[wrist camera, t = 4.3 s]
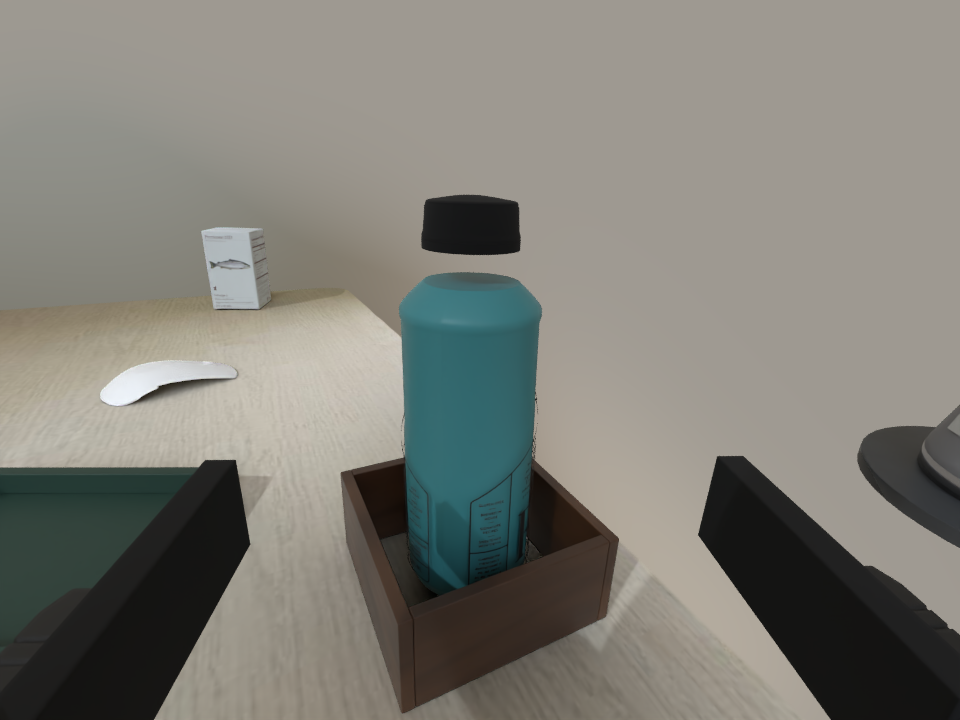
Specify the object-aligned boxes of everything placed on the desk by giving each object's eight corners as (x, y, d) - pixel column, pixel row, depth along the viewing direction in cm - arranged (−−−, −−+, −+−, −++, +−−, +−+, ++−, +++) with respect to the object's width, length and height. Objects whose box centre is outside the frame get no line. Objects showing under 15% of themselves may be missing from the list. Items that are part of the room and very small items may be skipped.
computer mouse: (244, 376, 51) (241, 356, 50) (110, 411, 43) (104, 388, 42) (220, 360, 55) (216, 342, 54) (93, 390, 47) (87, 368, 46)
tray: (232, 495, 32) (227, 466, 31) (83, 702, 19) (68, 662, 18) (-8, 496, 31) (-20, 467, 30) (-332, 713, 18) (-368, 672, 17)
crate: (606, 617, 24) (619, 538, 22) (401, 714, 19) (397, 624, 17) (502, 496, 33) (506, 433, 31) (346, 542, 28) (340, 471, 26)
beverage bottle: (532, 629, 23) (572, 200, 16) (396, 628, 23) (376, 193, 16) (519, 535, 29) (544, 195, 22) (412, 534, 29) (403, 191, 22)
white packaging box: (212, 310, 76) (198, 230, 72) (229, 299, 83) (218, 226, 78) (259, 310, 77) (248, 231, 72) (273, 300, 84) (263, 227, 79)
